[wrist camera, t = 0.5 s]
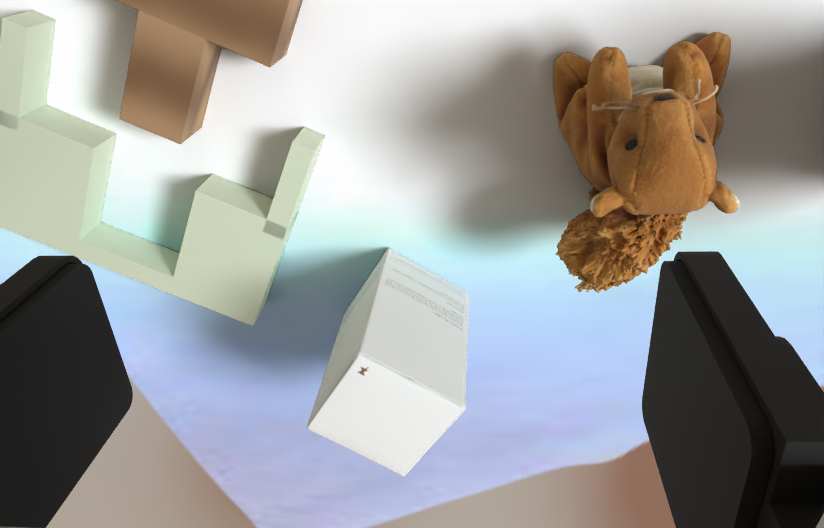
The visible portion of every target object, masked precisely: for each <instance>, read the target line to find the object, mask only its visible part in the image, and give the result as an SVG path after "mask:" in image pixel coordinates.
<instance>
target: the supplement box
mask: <svg viewBox="0 0 824 528" xmlns="http://www.w3.org/2000/svg"><path fill="white" fill-rule="evenodd" d="M468 325H469V292H467V291H465V290H463V289H462V288H460V287H458V286H456V285H455V284H453V283H451V282H449V281H448V280H446V279H444V278H442V277H441V276H439V275H437V274H435V273H433V272H432V271H430V270H428V269H426V268H425V267H423V266H421V265H419V264H418V263H416V262H414V261H412V260H410V259H409V258H407V257H405V256H403V255H402V254H400V253H398V252H396V251H395V250H393V249H391V248H388V249H387V251H386V252H385V254H384V255H383V257H382V258H381V259H380V261H379V262H378V264H377V266H376V267H375V268H374V270H373V271H372V273H371V274H370V276H369V277H368V279H367V280H366V282H365V283H364V285H363V286H362V288H361V289H360V290H359V292H358V293H357V295H356V296H355V298H354V299H353V301H352V302H351V304H350V305H349V307H348V308H347V310H346V311H345V313H344V316H343V319H342V322H341V325H340V329H339V331H338V334H337V337H336V340H335V343H334V347H333V350H332V353H331V356H330V359H329V362H328V365H327V367H326V370H325V373H324V376H323V379H322V382H321V386H320V389H319V392H318V395H317V398H316V401H315V404H314V407H313V410H312V413H311V416H310V419H309V422H308V426H307V428H308V429H309V430H311V431H313V432H315V433H317V434H319V435H321V436H323V437H325V438H327V439H330V440H332V441H334V442H336V443H338V444H340V445H342V446H344V447H346V448H348V449H350V450H352V451H354V452H356V453H358V454H360V455H362V456H364V457H366V458H368V459H370V460H372V461H374V462H376V463H378V464H380V465H382V466H384V467H386V468H388V469H390V470H392V471H394V472H396V473H398V474H400V475H402V476H405V475H406V474H407V473H408V472H409V471H410V470H411V468H412V467H413V466H414V465H415V464H416V463H417V462H418V461H419V459H420V458H421V457H422V456H423V455H424V454H425V453H426V452H427V450H428V449H429V448H430V447H431V446H432V445H433V444H434V443H435V442H436V441H437V440H438V439H439V437H440V436H441V435H442V434H443V433H444V432H445V431H446V430H447V429H448V428H449V427H450V426H451V425H452V424H453V423H454V422H455V421H456V419H457V418H458V417H459V416H460V415H461V414H462V413H463V412H464V411H465V410H466V372H467V350H468Z"/></svg>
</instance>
